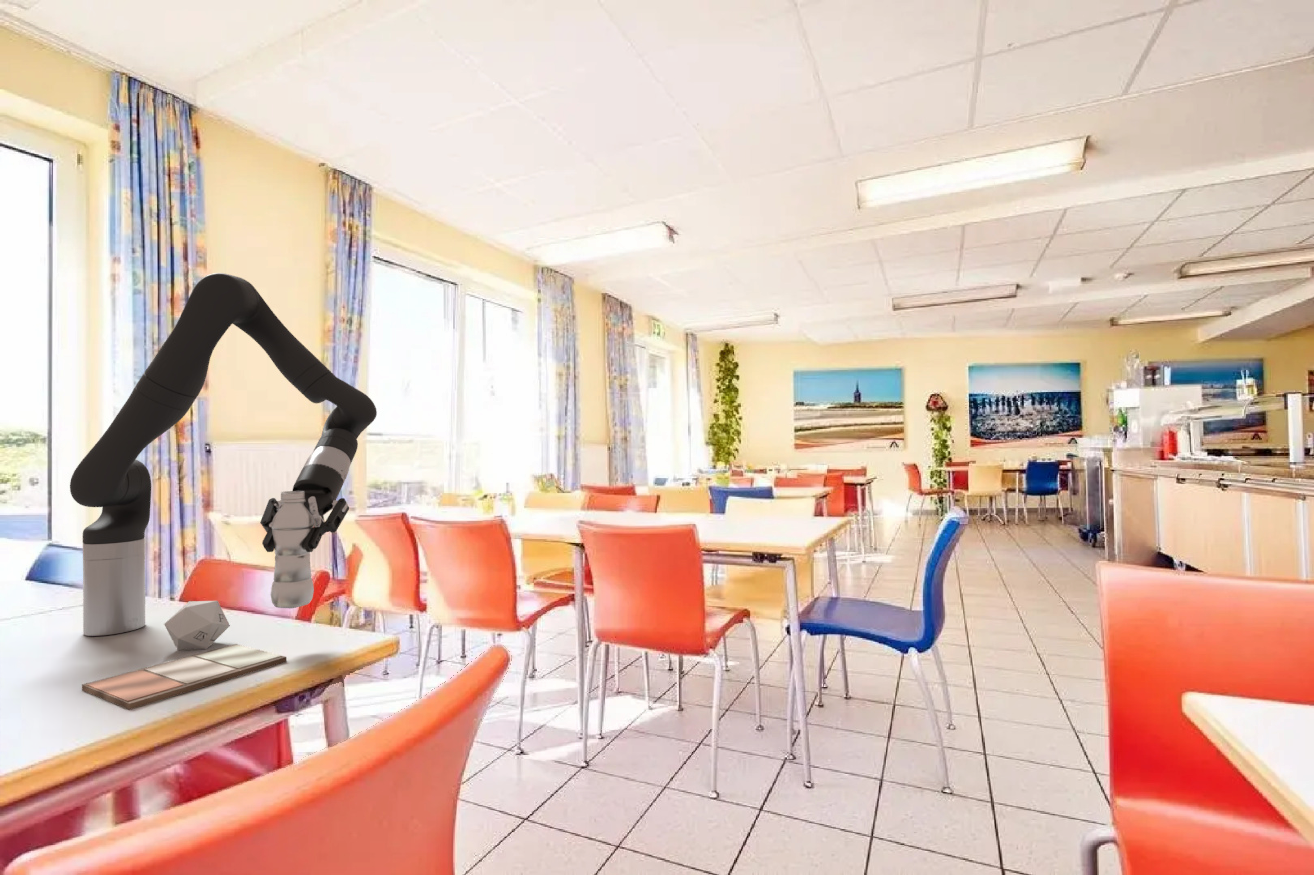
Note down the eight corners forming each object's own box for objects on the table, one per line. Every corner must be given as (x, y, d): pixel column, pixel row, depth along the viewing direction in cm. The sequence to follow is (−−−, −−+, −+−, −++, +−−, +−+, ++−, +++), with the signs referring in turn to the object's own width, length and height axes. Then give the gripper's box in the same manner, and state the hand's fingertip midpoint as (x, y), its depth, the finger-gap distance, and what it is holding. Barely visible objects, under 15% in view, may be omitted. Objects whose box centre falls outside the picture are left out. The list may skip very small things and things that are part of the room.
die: (179, 662, 106) (221, 610, 110) (142, 634, 108) (184, 584, 111) (210, 663, 114) (249, 615, 117) (175, 638, 116) (214, 591, 119)
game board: (81, 689, 93) (81, 683, 93) (236, 648, 111) (236, 643, 111) (129, 709, 85) (129, 702, 85) (286, 661, 104) (286, 656, 104)
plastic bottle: (297, 600, 115) (297, 489, 115) (322, 605, 112) (322, 491, 112) (261, 609, 109) (261, 492, 109) (287, 614, 106) (287, 494, 106)
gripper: (276, 462, 118) (234, 536, 106) (355, 462, 118) (321, 536, 106) (292, 489, 123) (254, 562, 112) (367, 489, 124) (337, 562, 112)
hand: (287, 549), depth 109 cm, fingers closed on plastic bottle, 6 cm apart
